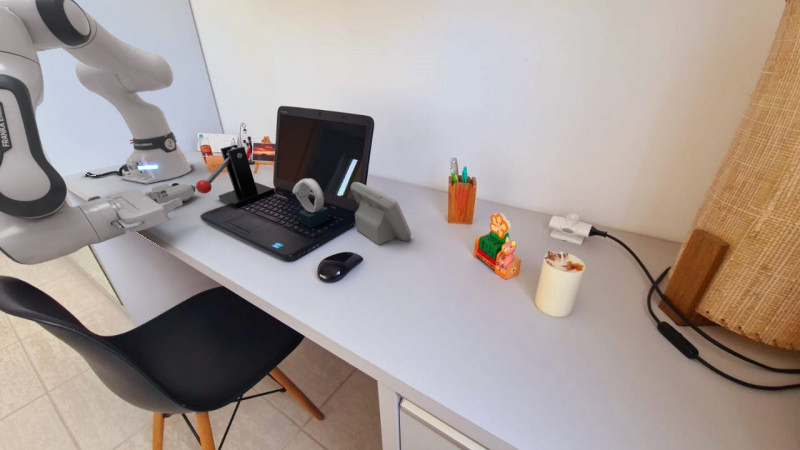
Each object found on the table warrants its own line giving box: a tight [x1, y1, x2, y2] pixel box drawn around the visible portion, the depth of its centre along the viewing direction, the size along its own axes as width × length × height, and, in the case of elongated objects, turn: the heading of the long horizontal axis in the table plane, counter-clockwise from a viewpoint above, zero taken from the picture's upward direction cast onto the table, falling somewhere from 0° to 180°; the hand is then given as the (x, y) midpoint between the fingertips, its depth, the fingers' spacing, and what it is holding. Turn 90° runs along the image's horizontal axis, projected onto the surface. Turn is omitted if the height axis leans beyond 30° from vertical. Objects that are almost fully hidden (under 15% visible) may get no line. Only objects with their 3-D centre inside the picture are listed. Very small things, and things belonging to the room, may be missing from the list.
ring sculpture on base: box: [292, 177, 331, 229], centre depth 78 cm, size 6×8×11 cm
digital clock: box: [350, 181, 412, 246], centre depth 72 cm, size 16×9×11 cm, turn 27°
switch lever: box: [195, 147, 235, 194], centre depth 89 cm, size 15×4×4 cm
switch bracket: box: [218, 144, 276, 209], centre depth 93 cm, size 12×10×15 cm
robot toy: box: [151, 182, 196, 204], centre depth 96 cm, size 12×4×15 cm
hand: (173, 196), depth 82 cm, fingers open, 8 cm apart
